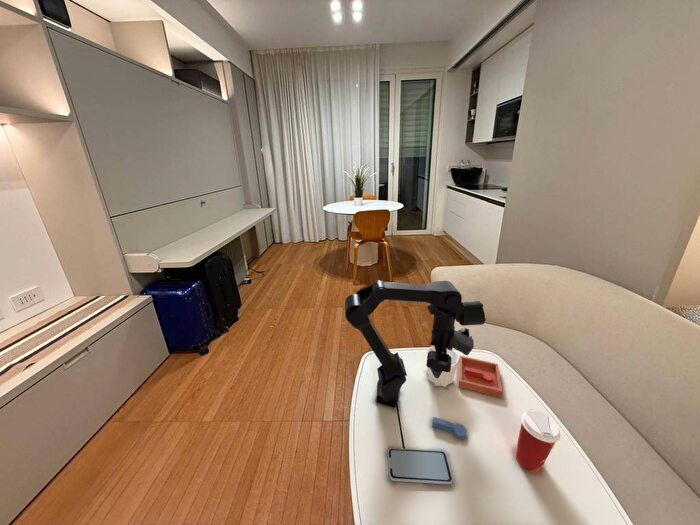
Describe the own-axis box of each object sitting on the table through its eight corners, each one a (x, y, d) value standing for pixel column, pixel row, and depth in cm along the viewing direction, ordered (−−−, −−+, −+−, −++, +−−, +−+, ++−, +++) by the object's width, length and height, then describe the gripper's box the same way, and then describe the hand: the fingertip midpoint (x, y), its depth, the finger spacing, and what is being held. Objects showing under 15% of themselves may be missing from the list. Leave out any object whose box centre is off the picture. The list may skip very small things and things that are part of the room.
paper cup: (552, 480, 63) (569, 441, 58) (516, 473, 65) (530, 435, 59) (537, 447, 70) (551, 409, 65) (506, 441, 72) (517, 404, 66)
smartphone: (453, 483, 63) (389, 479, 63) (453, 485, 63) (389, 481, 64) (445, 450, 69) (387, 447, 70) (444, 453, 70) (387, 449, 71)
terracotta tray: (458, 386, 89) (459, 380, 88) (458, 360, 100) (459, 355, 99) (500, 397, 84) (502, 391, 83) (496, 369, 95) (497, 363, 94)
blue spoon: (431, 430, 75) (432, 424, 75) (433, 418, 78) (433, 413, 78) (466, 441, 72) (467, 435, 71) (466, 429, 75) (467, 423, 74)
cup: (425, 386, 89) (427, 364, 85) (424, 365, 98) (426, 343, 94) (456, 391, 87) (460, 368, 83) (452, 369, 96) (456, 347, 92)
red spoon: (464, 376, 92) (465, 372, 91) (464, 369, 95) (465, 364, 94) (493, 384, 89) (494, 379, 88) (492, 376, 92) (493, 371, 91)
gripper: (475, 352, 65) (466, 398, 71) (473, 312, 81) (465, 352, 87) (428, 342, 69) (423, 387, 75) (435, 306, 85) (430, 345, 91)
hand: (437, 366), depth 82 cm, fingers open, 9 cm apart
